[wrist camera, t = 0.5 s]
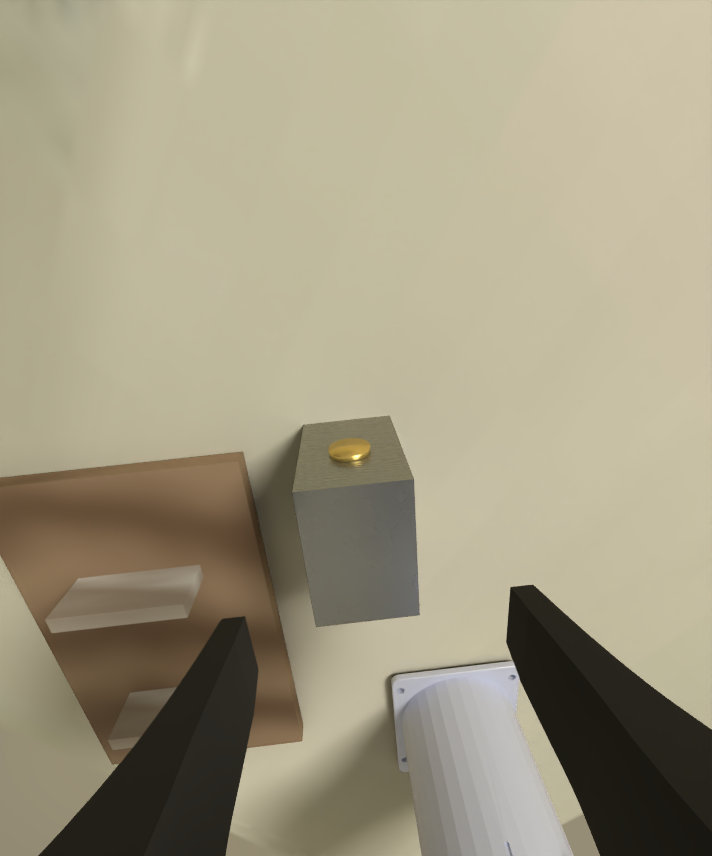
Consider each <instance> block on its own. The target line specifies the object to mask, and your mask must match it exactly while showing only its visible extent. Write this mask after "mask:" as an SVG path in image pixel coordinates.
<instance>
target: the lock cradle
mask: <svg viewBox="0 0 712 856" xmlns="http://www.w3.org/2000/svg"><path fill="white" fill-rule="evenodd" d="M0 555H1V557H2V559H3V561H4V563H5V565H6V566H7V568H8V570H9V572H10V574H11V576H12V578H13V580H14V581H15V583H16V585H17V587H18V589H19V591H20V593H21V595H22V596H23V598H24V600H25V602H26V604H27V606H28V608H29V610H30V611H31V613H32V615H33V617H34V619H35V621H36V623H37V625H38V626H39V628H40V630H41V632H42V634H43V636H44V638H45V639H46V641H47V643H48V645H49V647H50V649H51V651H52V653H53V654H54V656H55V658H56V660H57V662H58V664H59V666H60V668H61V669H62V671H63V673H64V675H65V677H66V679H67V681H68V683H69V684H70V686H71V688H72V690H73V692H74V694H75V696H76V698H77V699H78V701H79V703H80V705H81V707H82V709H83V711H84V713H85V714H86V716H87V718H88V720H89V722H90V724H91V726H92V728H93V729H94V731H95V733H96V735H97V737H98V739H99V741H100V743H101V744H102V746H103V748H104V750H105V752H106V754H107V756H108V757H109V759H110V761H111V763H112V764H120V763H121V761H122V760H123V759H124V758H125V756H126V755H127V754H128V753H129V751H130V750H131V749H132V748H133V746H134V745H135V744H136V743H137V741H138V740H139V739H140V737H141V736H142V735H143V733H144V732H145V731H146V729H147V728H148V727H149V725H150V724H151V722H152V721H153V720H154V718H155V717H156V716H157V714H158V713H159V712H160V710H161V709H162V708H163V706H164V705H165V704H166V702H167V701H168V699H169V698H170V696H171V695H172V694H173V692H174V691H175V689H176V688H177V686H178V685H179V683H180V682H181V680H182V679H183V678H184V676H185V675H186V673H187V672H188V670H189V669H190V667H191V666H192V664H193V663H194V661H195V660H196V658H197V656H198V655H199V653H200V652H201V650H202V649H203V647H204V646H205V644H206V642H207V641H208V639H209V638H210V636H211V635H212V633H213V631H214V630H215V628H216V627H217V625H218V623H219V622H220V621H221V620H222V619H224V618H233V617H242V616H245V618H246V622H247V626H248V629H249V633H250V637H251V641H252V645H253V649H254V653H255V657H256V661H257V665H258V669H259V671H258V681H257V691H256V700H255V709H254V716H253V721H252V726H251V730H250V735H249V740H248V745H247V748H251V747H259V746H267V745H275V744H284V743H292V742H300V741H302V736H303V721H302V717H301V712H300V708H299V703H298V699H297V694H296V690H295V685H294V681H293V676H292V672H291V667H290V663H289V658H288V653H287V649H286V644H285V640H284V635H283V631H282V626H281V622H280V617H279V613H278V608H277V604H276V599H275V595H274V590H273V586H272V581H271V577H270V572H269V567H268V563H267V558H266V554H265V549H264V545H263V540H262V536H261V531H260V527H259V522H258V518H257V513H256V509H255V504H254V500H253V495H252V490H251V486H250V481H249V477H248V472H247V468H246V463H245V459H244V454H243V452H236V453H226V454H217V455H208V456H199V457H189V458H180V459H171V460H161V461H152V462H143V463H134V464H124V465H115V466H106V467H97V468H87V469H78V470H69V471H60V472H50V473H41V474H32V475H23V476H13V477H4V478H0Z"/></svg>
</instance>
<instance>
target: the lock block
mask: <svg viewBox="0 0 712 856" xmlns="http://www.w3.org/2000/svg"><path fill="white" fill-rule="evenodd" d="M292 495H293V500H294V506H295V512H296V517H297V523H298V528H299V534H300V540H301V545H302V551H303V557H304V562H305V568H306V574H307V579H308V585H309V591H310V596H311V602H312V608H313V613H314V619H315V625H316V627H321V626H330V625H338V624H347V623H356V622H364V621H373V620H382V619H390V618H399V617H408V616H417V615H420V613H419V590H418V566H417V542H416V519H415V495H414V478H413V476H412V473H411V470H410V468H409V465H408V463H407V460H406V457H405V455H404V452H403V449H402V447H401V444H400V442H399V439H398V436H397V434H396V431H395V428H394V426H393V423H392V421H391V418H390V416H381V417H372V418H363V419H353V420H344V421H335V422H325V423H316V424H307V425H304V426H303V432H302V438H301V444H300V449H299V455H298V461H297V467H296V473H295V478H294V484H293V490H292Z"/></svg>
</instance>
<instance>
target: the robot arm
mask: <svg viewBox="0 0 712 856" xmlns="http://www.w3.org/2000/svg"><path fill="white" fill-rule="evenodd" d="M506 642H507V645H508V648H509V651H510V654H511V657H512V659H513V661H507V662H499V663H490V664H482V665H474V666H465V667H457V668H449V669H440V670H432V671H423V672H415V673H407V674H398V675H395V676H394V677H393V678H392V679H391V686H392V697H393V709H394V721H395V732H396V744H397V756H398V766H399V770H400V771H401V772H409V776H410V783H411V789H412V796H413V802H414V809H415V815H416V822H417V828H418V835H419V841H420V848H421V854H422V856H574V855H573V853H572V851H571V848H570V846H569V843H568V841H567V838H566V836H565V833H564V831H563V829H562V826H561V824H560V821H559V819H558V816H557V814H556V811H555V809H554V807H553V804H552V802H551V799H550V797H549V794H548V792H547V790H546V787H545V785H544V782H543V780H542V777H541V775H540V773H539V770H538V768H537V765H536V763H535V760H534V758H533V755H532V753H531V751H530V748H529V746H528V743H527V741H526V738H525V736H524V734H523V731H522V729H521V726H520V724H519V721H518V719H517V717H516V709H517V698H518V687H519V678H520V681H521V683H522V685H523V687H524V690H525V692H526V694H527V696H528V698H529V700H530V702H531V704H532V706H533V708H534V710H535V712H536V714H537V716H538V719H539V721H540V723H541V725H542V727H543V729H544V731H545V733H546V735H547V737H548V739H549V741H550V743H551V745H552V747H553V749H554V751H555V753H556V755H557V757H558V759H559V761H560V763H561V765H562V767H563V769H564V771H565V773H566V776H567V778H568V780H569V782H570V784H571V786H572V788H573V791H574V793H575V795H576V797H577V799H578V802H579V804H580V806H581V809H582V811H583V814H584V816H585V819H586V821H587V824H588V826H589V829H590V831H591V834H592V836H593V839H594V841H595V843H596V846H597V849H598V851H599V854H600V856H712V730H711V729H710V728H708V727H707V726H705V725H704V724H703V723H701V722H700V721H698V720H697V719H696V718H694V717H693V716H691V715H690V714H688V713H687V712H686V711H684V710H683V709H681V708H680V707H679V706H677V705H676V704H674V703H673V702H671V701H670V700H669V699H667V698H666V697H665V696H663V695H662V694H661V693H659V692H658V691H657V690H655V689H654V688H653V687H651V686H650V685H649V684H648V683H646V682H645V681H644V680H643V679H641V678H640V677H639V676H637V675H636V674H635V673H634V672H632V671H631V670H630V669H629V668H627V667H626V666H625V665H624V664H623V663H621V662H620V661H619V660H618V659H616V658H615V657H614V656H613V655H612V654H610V653H609V652H608V651H607V650H606V649H605V648H603V647H602V646H601V645H600V644H599V643H598V642H596V641H595V640H594V639H593V638H592V637H590V636H589V635H588V634H587V633H586V632H585V631H584V630H582V629H581V628H580V627H579V626H578V625H577V624H576V623H575V622H573V621H572V620H571V619H570V618H569V617H568V616H567V615H566V614H565V613H563V612H562V611H561V610H560V609H559V608H558V607H557V606H556V605H555V604H554V603H553V602H551V601H550V600H549V599H548V598H547V597H546V596H545V595H544V594H543V593H542V592H540V591H539V590H538V589H537V588H536V587H535V586H534V585H526V586H517V587H511V588H510V601H509V614H508V627H507V640H506ZM258 671H259V669H258V665H257V661H256V657H255V653H254V649H253V645H252V641H251V637H250V633H249V629H248V626H247V622H246V618H245V616H242V617H233V618H224V619H222V620H221V621H220V622H219V623H218V625H217V627H216V628H215V630H214V631H213V633H212V635H211V636H210V638H209V639H208V641H207V642H206V644H205V646H204V647H203V649H202V650H201V652H200V653H199V655H198V656H197V658H196V660H195V661H194V663H193V664H192V666H191V667H190V669H189V670H188V672H187V673H186V675H185V676H184V678H183V679H182V680H181V682H180V683H179V685H178V686H177V688H176V689H175V691H174V692H173V694H172V695H171V696H170V698H169V699H168V701H167V702H166V704H165V705H164V706H163V708H162V709H161V710H160V712H159V713H158V714H157V716H156V717H155V718H154V720H153V721H152V722H151V724H150V725H149V727H148V728H147V729H146V731H145V732H144V733H143V735H142V736H141V737H140V739H139V740H138V741H137V743H136V744H135V745H134V746H133V748H132V749H131V750H130V751H129V753H128V754H127V755H126V756H125V758H124V759H123V760H122V761H121V763H120V764H119V765H118V766H117V768H116V769H115V770H114V771H113V772H112V774H111V775H110V776H109V777H108V778H107V780H106V781H105V782H104V783H103V784H102V786H101V787H100V788H99V789H98V790H97V792H96V793H95V794H94V795H93V796H92V797H91V799H90V800H89V801H88V802H87V803H86V804H85V805H84V806H83V808H82V809H81V810H80V811H79V812H78V813H77V814H76V815H75V816H74V817H73V819H72V820H71V821H70V822H69V823H68V824H67V826H65V828H64V829H63V830H62V831H61V832H60V833H59V834H58V835H57V836H56V837H55V838H54V840H53V841H52V842H51V843H50V844H49V845H48V846H47V847H46V848H45V849H44V850H43V851H42V853H40V855H39V856H225V855H226V848H227V842H228V837H229V831H230V826H231V820H232V815H233V811H234V806H235V801H236V797H237V792H238V787H239V783H240V778H241V773H242V768H243V764H244V759H245V754H246V750H247V745H248V740H249V735H250V730H251V726H252V721H253V716H254V709H255V700H256V691H257V681H258Z"/></svg>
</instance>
